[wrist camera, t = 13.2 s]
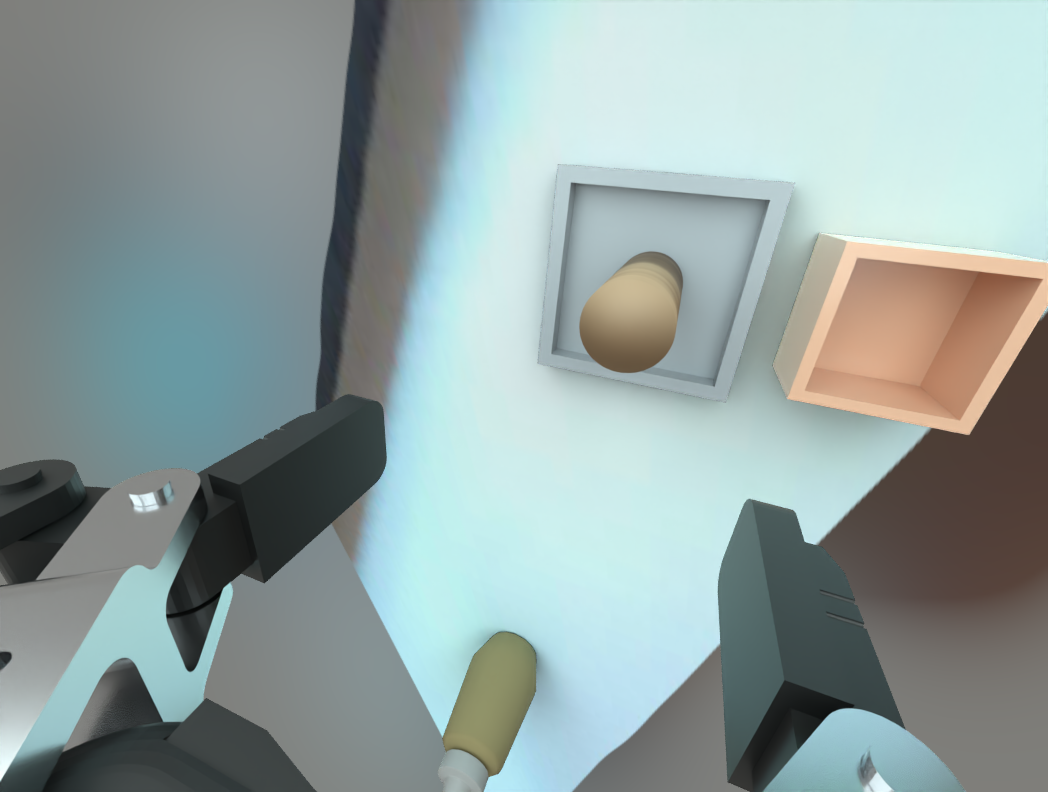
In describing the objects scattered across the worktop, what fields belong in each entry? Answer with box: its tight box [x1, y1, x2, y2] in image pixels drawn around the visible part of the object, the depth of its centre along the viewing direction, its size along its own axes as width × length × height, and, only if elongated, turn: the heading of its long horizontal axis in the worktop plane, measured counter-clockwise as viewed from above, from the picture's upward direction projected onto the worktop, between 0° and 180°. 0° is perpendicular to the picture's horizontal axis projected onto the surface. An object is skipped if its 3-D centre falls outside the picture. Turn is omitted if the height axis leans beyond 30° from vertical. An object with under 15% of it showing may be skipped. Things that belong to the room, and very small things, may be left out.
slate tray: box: [538, 164, 795, 403], centre depth 31 cm, size 14×14×2 cm
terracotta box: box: [772, 233, 1048, 435], centre depth 26 cm, size 9×9×6 cm
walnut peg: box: [579, 251, 683, 373], centre depth 26 cm, size 4×4×12 cm
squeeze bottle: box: [438, 632, 536, 792], centre depth 46 cm, size 8×8×18 cm
